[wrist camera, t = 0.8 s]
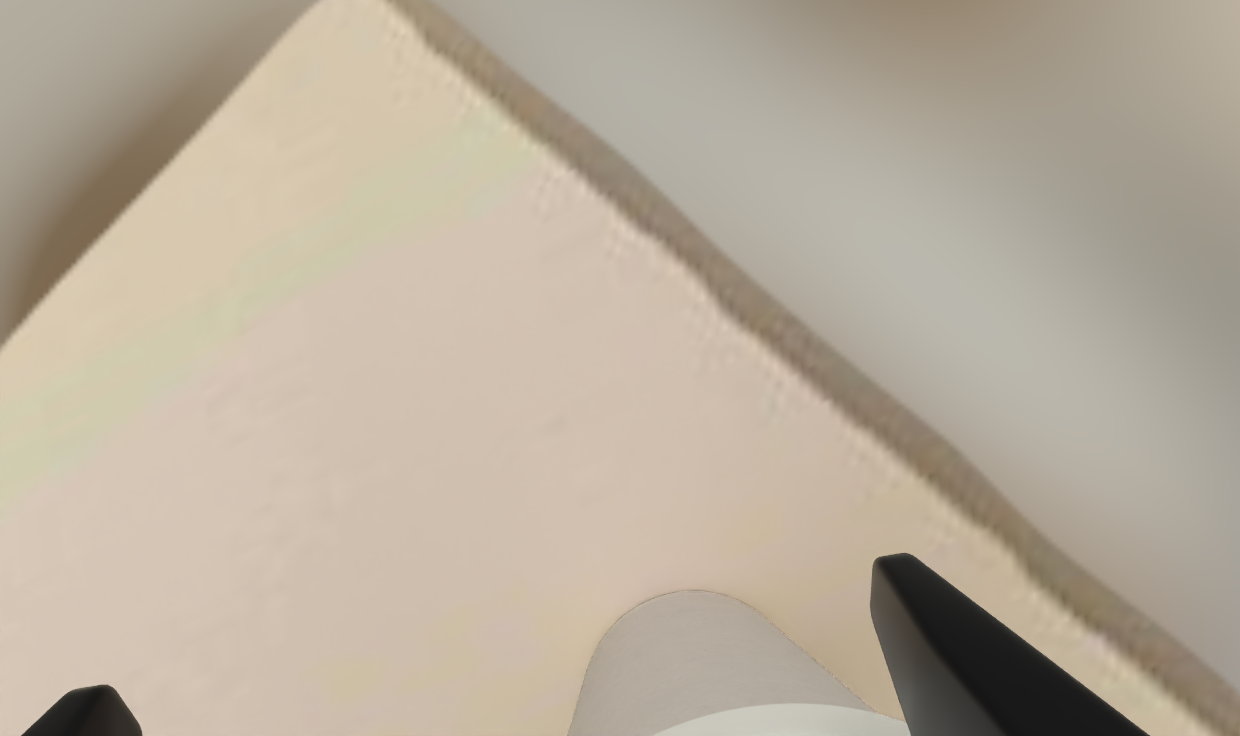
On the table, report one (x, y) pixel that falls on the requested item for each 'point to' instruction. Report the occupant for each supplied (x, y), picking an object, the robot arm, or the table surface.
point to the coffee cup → (713, 678)
